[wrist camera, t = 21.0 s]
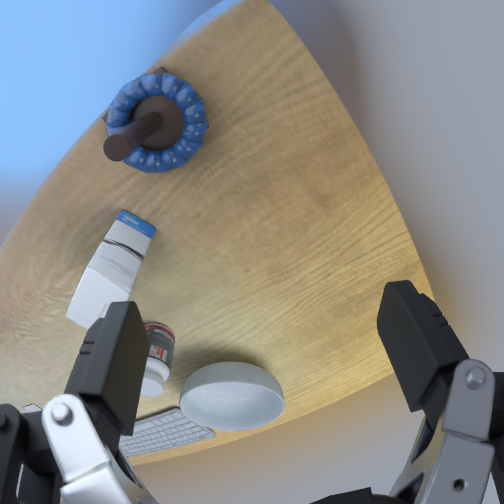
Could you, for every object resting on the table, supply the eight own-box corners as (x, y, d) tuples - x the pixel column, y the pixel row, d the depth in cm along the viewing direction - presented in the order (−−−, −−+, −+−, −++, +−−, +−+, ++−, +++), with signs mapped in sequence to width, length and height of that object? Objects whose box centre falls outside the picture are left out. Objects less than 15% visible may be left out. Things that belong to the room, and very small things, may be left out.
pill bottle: (145, 316, 44) (131, 369, 36) (181, 330, 46) (173, 384, 38) (134, 338, 47) (121, 389, 39) (167, 351, 49) (159, 403, 40)
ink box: (122, 207, 35) (85, 264, 25) (158, 228, 37) (133, 291, 27) (97, 257, 39) (63, 319, 29) (129, 275, 41) (104, 341, 31)
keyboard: (177, 404, 58) (176, 414, 56) (217, 427, 63) (217, 436, 61) (73, 437, 70) (72, 444, 68) (107, 455, 75) (106, 461, 73)
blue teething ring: (166, 52, 26) (161, 51, 24) (228, 130, 30) (228, 134, 28) (93, 118, 28) (84, 122, 26) (153, 187, 33) (148, 195, 31)
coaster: (44, 423, 66) (43, 425, 65) (22, 407, 62) (21, 409, 61) (57, 420, 64) (56, 422, 63) (34, 404, 60) (33, 406, 59)
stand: (163, 67, 28) (124, 67, 17) (209, 125, 31) (196, 156, 21) (106, 115, 30) (48, 144, 19) (151, 169, 33) (114, 220, 23)
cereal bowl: (164, 378, 53) (160, 411, 47) (221, 329, 46) (220, 367, 40) (239, 409, 59) (240, 439, 53) (300, 370, 53) (306, 404, 47)
